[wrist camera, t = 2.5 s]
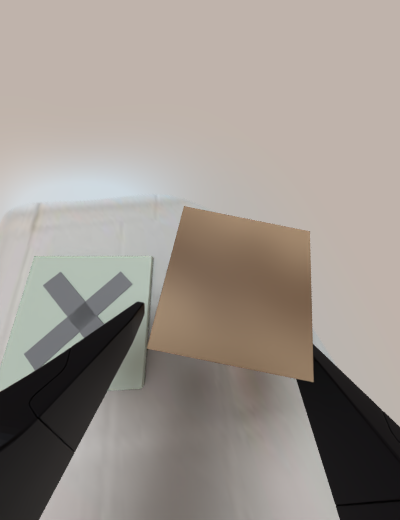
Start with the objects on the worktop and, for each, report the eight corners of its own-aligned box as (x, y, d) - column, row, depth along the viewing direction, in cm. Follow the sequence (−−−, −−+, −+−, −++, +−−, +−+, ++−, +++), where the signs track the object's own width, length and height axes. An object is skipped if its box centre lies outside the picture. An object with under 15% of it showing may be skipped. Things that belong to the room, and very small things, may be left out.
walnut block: (227, 326, 18) (313, 382, 5) (178, 316, 18) (146, 348, 5) (233, 277, 19) (309, 231, 7) (188, 268, 19) (183, 206, 7)
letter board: (144, 384, 16) (141, 389, 15) (1, 391, 15) (-11, 397, 14) (153, 257, 19) (151, 255, 19) (40, 258, 19) (33, 256, 18)
